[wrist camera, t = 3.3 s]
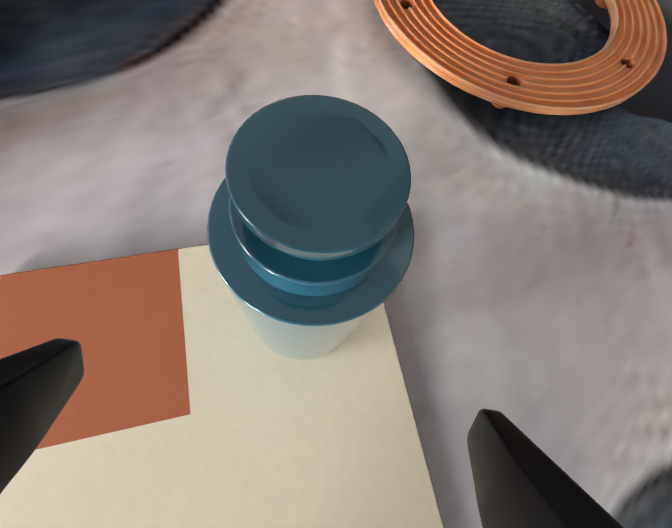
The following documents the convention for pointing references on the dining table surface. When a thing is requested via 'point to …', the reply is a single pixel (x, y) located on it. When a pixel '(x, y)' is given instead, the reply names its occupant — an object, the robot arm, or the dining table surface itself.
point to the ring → (530, 77)
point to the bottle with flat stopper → (312, 221)
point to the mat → (207, 410)
